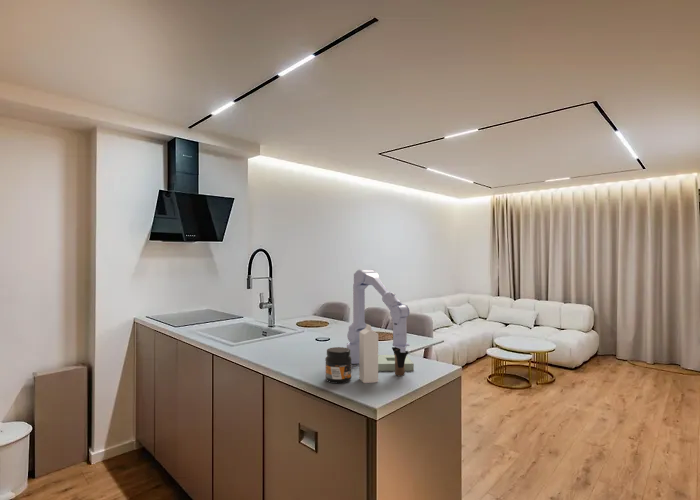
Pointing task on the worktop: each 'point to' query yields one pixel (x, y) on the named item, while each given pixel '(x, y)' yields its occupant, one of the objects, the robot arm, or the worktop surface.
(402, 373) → the peg
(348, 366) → the supplement container
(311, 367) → the worktop surface
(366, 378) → the milk
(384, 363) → the socket block
